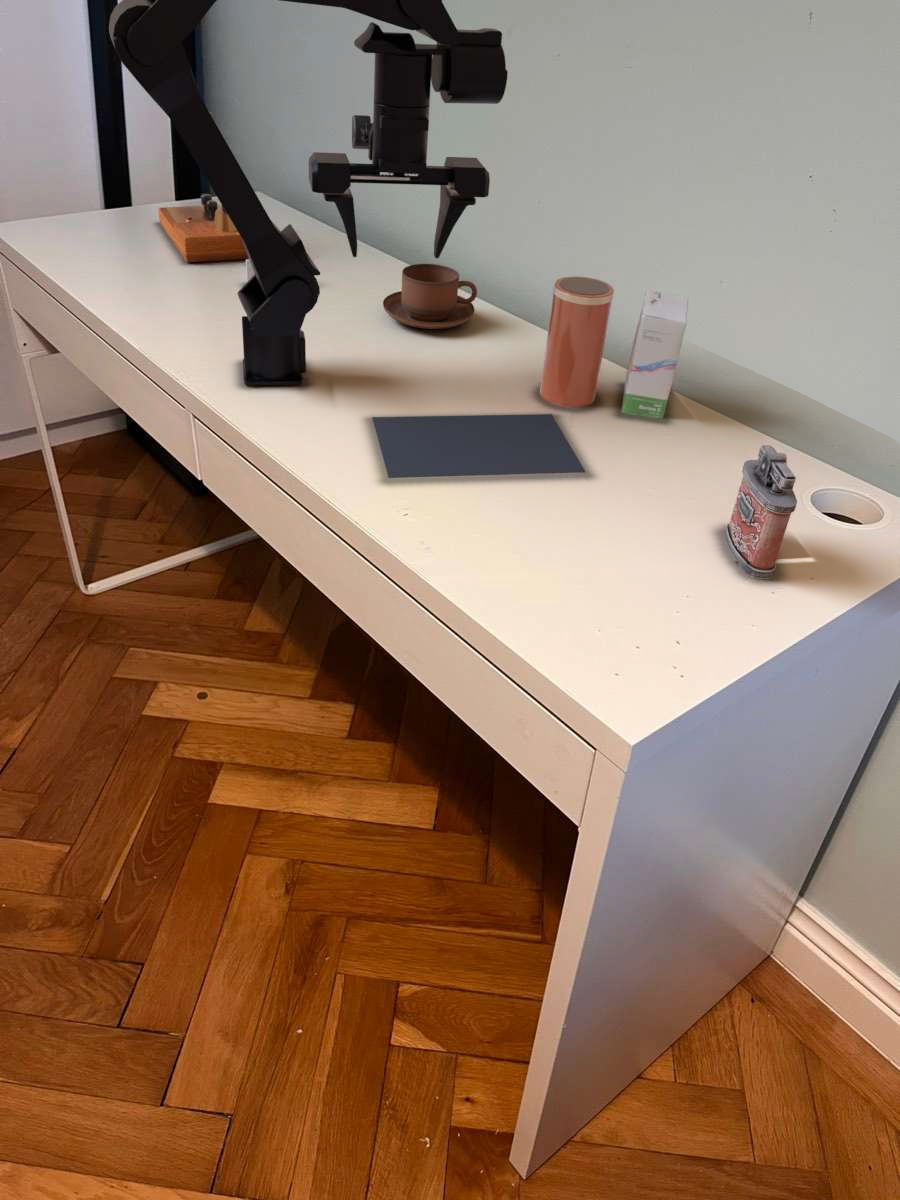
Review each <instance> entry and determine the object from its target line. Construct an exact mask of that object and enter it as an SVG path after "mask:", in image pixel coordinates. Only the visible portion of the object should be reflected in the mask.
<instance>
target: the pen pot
mask: <svg viewBox="0 0 900 1200" xmlns="http://www.w3.org/2000/svg"><path fill="white" fill-rule="evenodd" d="M552 289H553V290H552V299H551V307H550V314H549V322H548V327H547V329H548V330H547V336H546V344H545V350H544V357H543V365H542V373H541V381H540V387H539V395H540V396H541V398H542V399H544V400H545V401H547V402H548V403H550V404H553V405H557V406H561V407H567V408H581V407H586V406H587V407H588V406H590V405H591V404H593V403H594V402H595V400H596V394H597V389H598V383H599V378H600V372H601V365H602V360H603V354H604V349H605V343H606V337H607V332H608V327H609V321H610V314H611V309H612V302H613V300H614V293H615V290H614V288H613V285H611V284H609V283H608V282H605V281H603V280H600V279H596V278H592V277H587V276H564V277H561V278H558V279H557V280H555V282H554V283H553V288H552Z"/></svg>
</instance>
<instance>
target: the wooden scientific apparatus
mask: <svg viewBox="0 0 900 1200" xmlns="http://www.w3.org/2000/svg"><path fill="white" fill-rule="evenodd" d="M209 113H210V114H211V116H212V118H213V120H214V122H215V123H216V124H217V121H216V117H215V116H214V114H213V113H212V112H211V111H209ZM200 202H201V203H200V204H201V205H189V206H187V205H186V206H167V207H164V206H163V207H158V219H159V224H160V226H161V227H162V229H164V231H165V232H166V234H167V237H169V239H170V240H171V242H172V243H173V244H174V246H175V247H176V249H177V251H178V252H179V253H180V255H181V256H182V258H183V259H184V262H186V263H202V262H204V263H205V262H218V261H232V260H233V261H234V260H235V261H236V260H245V271H246V283H247V282H248V281H249V280H250V279H251V278H252V277H253V276H254V274H255V273H254V270H253V268H252V265H251V263H250V260H249V257H248V255H247V252H246V249H245V246H244V243H243V241H242V238H241V236H240V234H239V233H238V231H237V229H236V228H235V226H234V224H233V223H232V221H231V219H230V218H229V216H228V214H227V213H226V211H225V209H224V208H223V206H222V204H219V203H218V202H217V201H216V200H213V196H212V195H211V194H209V193H202V194H201V195H200Z"/></svg>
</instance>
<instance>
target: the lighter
mask: <svg viewBox="0 0 900 1200" xmlns="http://www.w3.org/2000/svg"><path fill="white" fill-rule="evenodd" d="M785 453H786V452H778V451H777V450H776V448H775V447H774V446H773V445H770V444H761V445H760V447H759V450H758V453H757V457H758V458H757V459H749V460H746V461H744V463H743V466H742V471H741V474H742V477H741V481H740V485H739V488H738V492H737V495H736V499H735V502H734V506H733V509H732V513H731V517H730V519H729V523H727V524H726V526H725V530H724V533H725V538H726V542H727V544H728V547H729V549H730V552H731V553H732V554H733V556H734V557H735V559H736V560H735V563H736V564H737V565H738V566H739V567H740V569H741V570H742V571H743V573H745V574H746V575H747V576H748V577H751V578H753V579H756V580H769V579H771V578H772V577H774V574H775V572H776V568H777V564H776V561H777V558H778V555H779V552H780V549H781V546H782V543H783V539H784V537H785V533H786V531H787V528H788V525H789V521H790V518H791V515H792V514H793V513H794V512H795V511H796V507H797V505H798V500H797V496H796V493H795V491H794V486H795V483H796V480H797V477H796V476H795V474H794V472H793V470H792V469H791V468H790V467H789V466H788V462H787V461H788V457H787V455H786V454H785Z"/></svg>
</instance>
